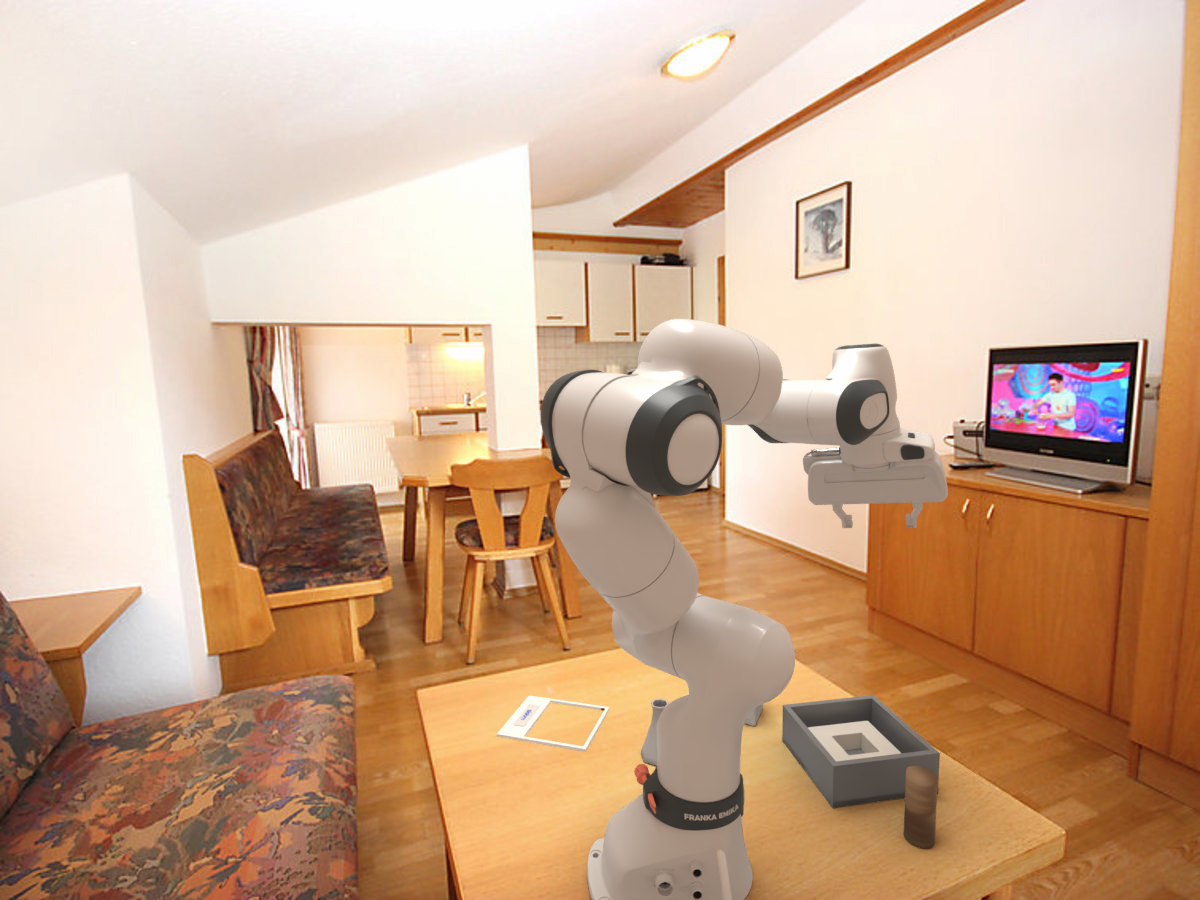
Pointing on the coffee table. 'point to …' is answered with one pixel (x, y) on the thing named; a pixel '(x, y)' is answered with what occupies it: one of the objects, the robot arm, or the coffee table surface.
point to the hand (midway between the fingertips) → (878, 526)
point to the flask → (653, 732)
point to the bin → (855, 749)
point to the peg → (920, 807)
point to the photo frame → (530, 714)
